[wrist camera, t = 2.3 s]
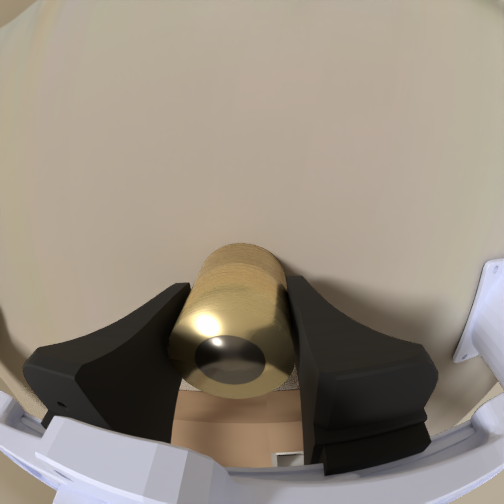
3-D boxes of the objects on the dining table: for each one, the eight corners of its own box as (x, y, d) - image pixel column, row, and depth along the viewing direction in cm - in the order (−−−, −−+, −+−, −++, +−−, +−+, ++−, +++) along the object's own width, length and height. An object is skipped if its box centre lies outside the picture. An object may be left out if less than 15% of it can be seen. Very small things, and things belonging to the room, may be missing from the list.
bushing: (283, 239, 12) (294, 306, 7) (287, 316, 13) (294, 397, 8) (192, 247, 12) (151, 311, 7) (208, 320, 13) (184, 397, 9)
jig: (416, 369, 15) (429, 395, 12) (369, 459, 21) (373, 477, 18) (155, 387, 16) (145, 415, 14) (206, 470, 22) (203, 488, 20)
